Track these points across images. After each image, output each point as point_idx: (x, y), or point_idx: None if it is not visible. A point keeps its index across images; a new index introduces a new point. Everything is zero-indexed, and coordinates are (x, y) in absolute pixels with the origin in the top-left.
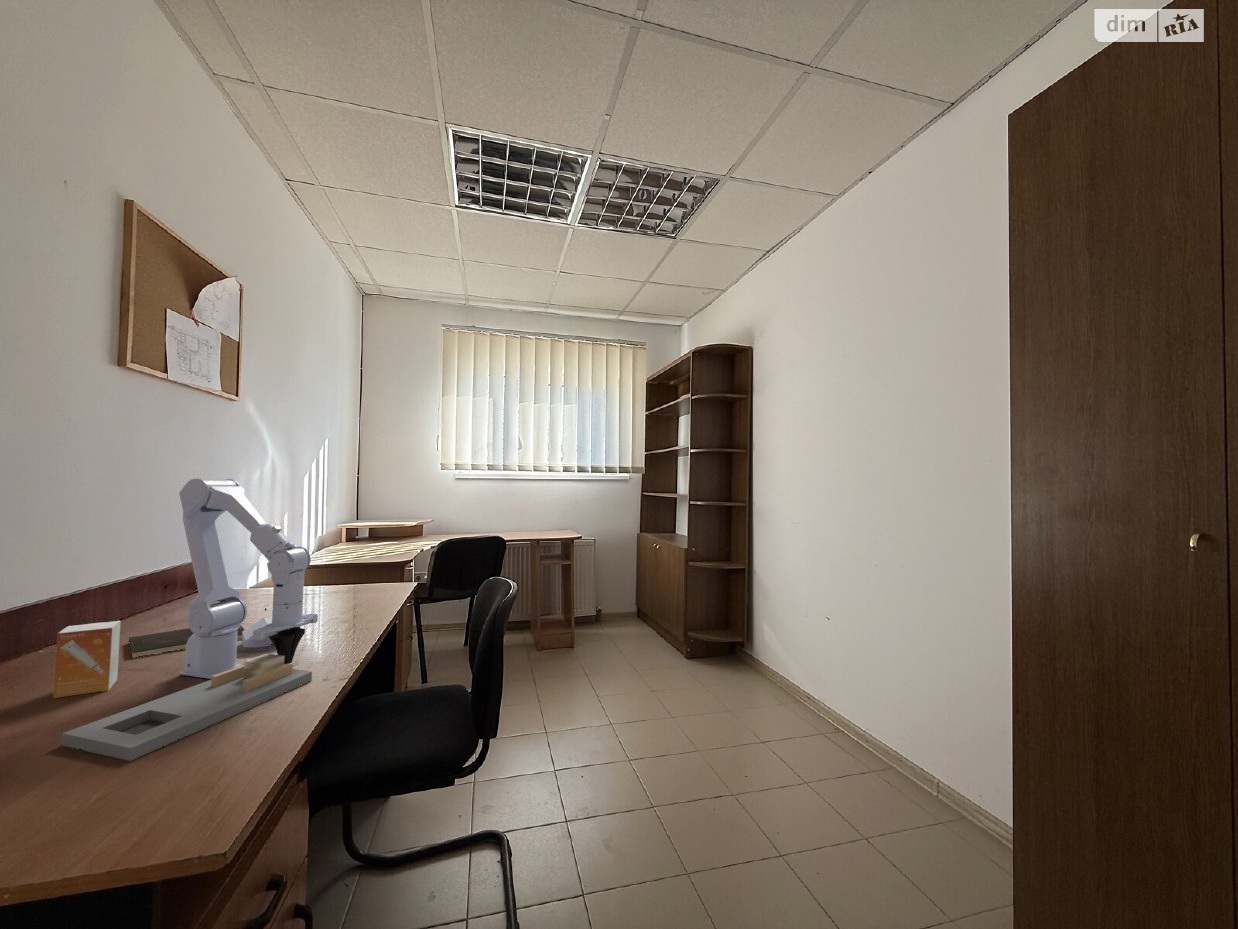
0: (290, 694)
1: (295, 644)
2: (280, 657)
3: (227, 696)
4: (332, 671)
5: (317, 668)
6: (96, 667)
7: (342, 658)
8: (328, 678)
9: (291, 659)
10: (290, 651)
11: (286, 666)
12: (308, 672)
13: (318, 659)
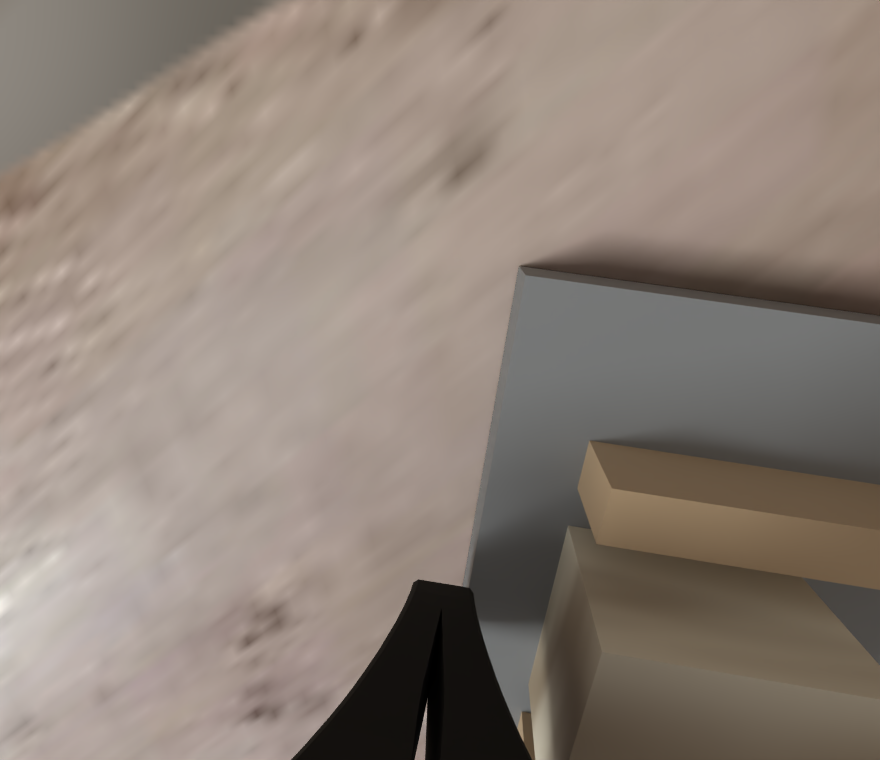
0: (833, 229)
1: (382, 732)
2: (662, 661)
3: None
4: (278, 242)
5: (258, 417)
6: None
7: (13, 370)
8: (434, 150)
9: (427, 600)
10: (456, 677)
11: (687, 499)
12: (553, 293)
13: (108, 532)
